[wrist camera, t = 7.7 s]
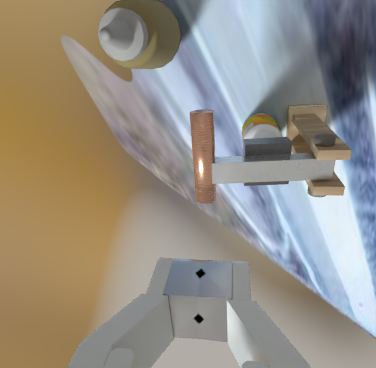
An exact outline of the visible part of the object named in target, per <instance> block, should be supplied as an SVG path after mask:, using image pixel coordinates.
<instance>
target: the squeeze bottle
mask: <svg viewBox="0 0 376 368" xmlns="http://www.w3.org/2000/svg"><path fill="white" fill-rule="evenodd" d="M98 36H99V39H100V43H101V46H102V47H103V49H104V50H105V51H106V53H107V54H108V55H109V56H110V58H111V59H112V60H114V61H115V62H116V63H118V64H119V65H120V66H123V67H127V68H132V69H155V68H160V67H163V66H165V65H166V64H167V63H169V62H170V61H171V60H172V59H173V58H174V56H175V54H176V53H177V51H178V49H179V44H180V38H181V34H180V28H179V23H178V20H177V19H176V17H175V15H174V14H173V12H172V10H171V9H170V8H168V7H167V6H166V5H165V4H163V3H162V2H161V1H157V0H120V1H116V2H115V3H113V4H112V5H111V6H110V7H109V8H108V9H107V10H106V11H105V14H104V15H103V17H102V19H101V21H100V23H99V33H98Z"/></svg>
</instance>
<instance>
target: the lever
mask: <svg viewBox="0 0 376 368" xmlns="http://www.w3.org/2000/svg"><path fill="white" fill-rule="evenodd" d="M190 122H191V136H192V151H193V165H194V180H195V194H196V201H197V202H199V203H204V204H207V203H212V202H214V201H215V200H216V184H221V183H244V186H249V185H276V184H288V183H289V181H298V180H324V179H332V178H333V171H334V165H335V160H317V159H316V157H315V155H314V154H313V153H297V154H291V150H292V142H291V140H290V139H289V138H288V137H273V138H254V139H243V156H233V157H215V139H214V111H213V110H195V111H192V112H190Z"/></svg>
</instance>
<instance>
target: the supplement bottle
mask: <svg viewBox="0 0 376 368" xmlns="http://www.w3.org/2000/svg"><path fill="white" fill-rule="evenodd" d="M273 137H283V136H282V134H281V132H280V130H279V127H278V125H277V123H276V121H275V120H274V119H273V118H272V117H271V116H270V115H267V114H264V113H258V114H254V115H252V116H250V117H249V118H248V119H247V120H246V121H245V122H244V124H243V127H242V147H243V139H254V138H273Z"/></svg>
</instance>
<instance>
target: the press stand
mask: <svg viewBox="0 0 376 368" xmlns="http://www.w3.org/2000/svg"><path fill="white" fill-rule="evenodd" d="M326 113H327V106H326V105H300V106H288V119H287V131H286V137H288V138H289V139H290V140H291V142H292V150H291V154H297V153H313V154H314V155H315V157H316V159H317V160H350V156H351V151H352V150H351V149H350V148H349V147H348V146H347V145H346V144H345V143H344V142H343V141H342V140H341V139H340V138H339V137H338V136H337V135H336V134H335V133H334V132H333V131H332V130H331V129H330V128H329V127H328V126H327V125H326V124H325V120H326ZM306 182H307V184H308V194H309V195H311V196H314V197H324V196H326V195H343V194H344V188H345V186H344V185H343V184H342V182H341V181H340V179H339V178H338V177H337V175H336V174H335V173H334V171H333V178H332V179H324V180H306Z"/></svg>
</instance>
